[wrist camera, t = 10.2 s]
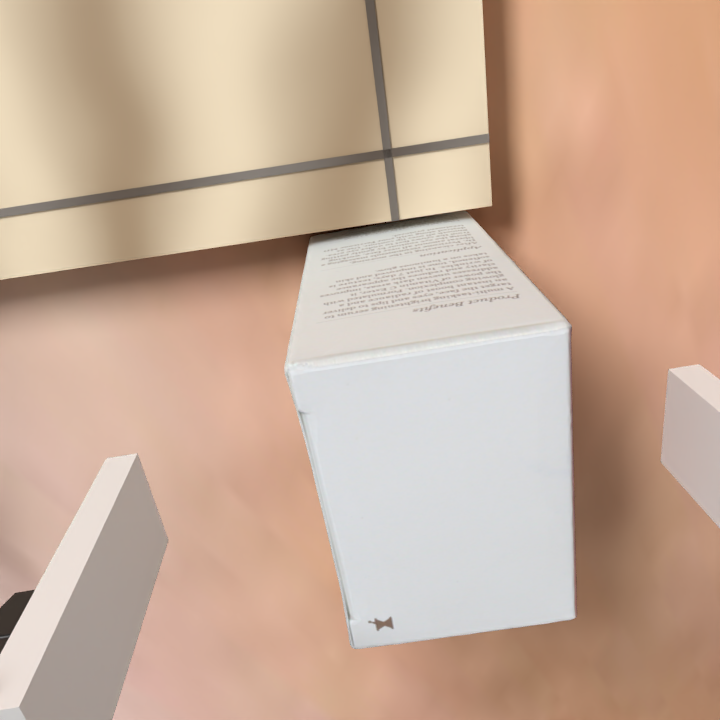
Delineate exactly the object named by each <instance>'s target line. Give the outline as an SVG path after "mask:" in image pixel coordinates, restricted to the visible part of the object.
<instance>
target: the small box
mask: <svg viewBox="0 0 720 720" xmlns="http://www.w3.org/2000/svg"><path fill="white" fill-rule="evenodd" d="M571 332H572V326H571V324H570V323H569V322H568V320H567V319H566V318H565V317H564V316H563V315H562V313H561V312H560V311H559V310H558V309H557V308H556V307H555V306H554V305H553V304H552V303H551V302H550V301H549V300H548V298H547V297H546V296H545V295H544V294H543V293H542V292H541V291H540V290H539V289H538V288H537V287H536V286H535V285H534V283H533V282H532V281H531V280H530V279H529V278H528V277H527V276H526V275H525V273H524V272H523V271H522V270H521V269H520V268H519V267H518V266H517V265H516V264H515V263H514V262H513V261H512V260H511V259H510V258H509V257H508V256H507V254H506V253H505V252H504V251H503V250H502V249H501V248H500V247H499V246H498V245H497V243H496V242H495V241H494V240H493V239H492V238H491V237H490V236H489V235H488V234H487V233H486V232H485V230H484V229H483V228H482V227H481V226H480V225H479V224H478V223H477V222H476V221H475V220H474V219H473V218H472V216H471V215H470V214H469V213H468V212H467V211H459V212H453V213H446V214H439V215H433V216H427V217H421V218H415V219H408V220H403V221H397V222H391V223H385V224H379V225H373V226H367V227H361V228H355V229H349V230H343V231H337V232H332V233H327V234H321V235H315V236H312V237H311V238H310V240H309V246H308V251H307V256H306V262H305V266H304V271H303V276H302V281H301V286H300V291H299V296H298V301H297V306H296V311H295V317H294V322H293V327H292V331H291V337H290V341H289V346H288V352H287V357H286V362H285V376H286V379H287V382H288V385H289V388H290V391H291V394H292V398H293V401H294V404H295V407H296V410H297V414H298V417H299V421H300V424H301V428H302V432H303V435H304V439H305V443H306V447H307V451H308V454H309V458H310V462H311V467H312V471H313V475H314V480H315V484H316V488H317V492H318V497H319V501H320V505H321V509H322V513H323V517H324V521H325V525H326V529H327V533H328V537H329V542H330V546H331V550H332V555H333V559H334V563H335V568H336V572H337V576H338V580H339V585H340V590H341V594H342V600H343V605H344V611H345V616H346V622H347V628H348V633H349V641H350V645H351V647H352V648H354V649H362V648H370V647H377V646H385V645H394V644H402V643H409V642H416V641H424V640H431V639H438V638H445V637H452V636H459V635H468V634H474V633H481V632H488V631H496V630H503V629H511V628H519V627H526V626H532V625H540V624H547V623H553V622H558V621H566V620H572V619H574V618H576V617H577V595H576V552H575V507H574V461H573V408H572V359H571Z"/></svg>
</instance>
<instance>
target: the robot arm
mask: <svg viewBox="0 0 720 720" xmlns="http://www.w3.org/2000/svg"><path fill="white" fill-rule="evenodd" d="M661 463H662V464H663V465H664V466H665V467H666V469H667V470H668V471H669V472H670V473H671V474H672V475H673V476H674V478H675V479H676V480H677V481H678V482H679V483H680V484H681V485H682V487H683V488H684V489H685V490H686V491H687V492H688V493H689V494H690V496H691V497H692V498H693V499H694V500H695V501H696V502H697V503H698V504H699V506H700V507H701V508H702V509H703V510H704V511H705V512H706V513H707V515H708V516H709V517H710V518H711V519H712V520H713V521H714V522H715V524H716V525H717V526H718V527H719V528H720V380H719V379H718V378H717V377H715V376H714V375H713V374H711V373H710V372H709V371H708V370H706V369H705V368H704V367H702V366H701V365H700V364H698V365H692V366H685V367H679V368H673V369H668V379H667V391H666V403H665V415H664V427H663V439H662V452H661ZM167 543H168V537H167V535H166V532H165V529H164V526H163V523H162V521H161V518H160V515H159V512H158V509H157V507H156V504H155V501H154V498H153V495H152V493H151V490H150V487H149V484H148V482H147V479H146V476H145V473H144V470H143V468H142V465H141V462H140V459H139V456H138V454H130V455H124V456H118V457H111V458H106V460H105V462H104V464H103V466H102V467H101V469H100V471H99V473H98V475H97V477H96V478H95V480H94V482H93V484H92V486H91V488H90V490H89V491H88V493H87V495H86V497H85V499H84V501H83V502H82V504H81V506H80V508H79V510H78V512H77V514H76V515H75V517H74V519H73V521H72V523H71V525H70V526H69V528H68V530H67V532H66V534H65V536H64V538H63V539H62V541H61V543H60V545H59V547H58V549H57V550H56V552H55V554H54V556H53V558H52V560H51V561H50V563H49V565H48V567H47V569H46V571H45V573H44V574H43V576H42V578H41V580H40V582H39V584H38V585H37V587H36V589H35V590H31V591H25V592H18V593H15V594H14V595H13V596H12V597H11V598H10V599H9V600H8V601H7V602H6V603H5V604H4V605H3V606H2V607H1V608H0V720H112V718H113V715H114V712H115V709H116V706H117V703H118V699H119V696H120V693H121V690H122V687H123V683H124V680H125V677H126V674H127V671H128V667H129V664H130V661H131V658H132V655H133V652H134V648H135V645H136V642H137V639H138V636H139V632H140V629H141V626H142V623H143V620H144V616H145V613H146V610H147V607H148V604H149V601H150V597H151V594H152V591H153V588H154V585H155V581H156V578H157V575H158V572H159V569H160V565H161V562H162V559H163V556H164V553H165V550H166V546H167Z"/></svg>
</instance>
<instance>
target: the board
mask: <svg viewBox="0 0 720 720" xmlns="http://www.w3.org/2000/svg"><path fill="white" fill-rule="evenodd" d="M488 206H492V193H491V173H490V152H489V131H488V111H487V90H486V69H485V49H484V28H483V7H482V0H0V280H3V279H9V278H16V277H23V276H29V275H36V274H43V273H49V272H56V271H63V270H69V269H76V268H83V267H89V266H96V265H102V264H109V263H116V262H122V261H129V260H136V259H142V258H149V257H156V256H162V255H169V254H176V253H182V252H189V251H196V250H202V249H209V248H215V247H222V246H229V245H235V244H242V243H249V242H255V241H262V240H269V239H275V238H282V237H289V236H295V235H302V234H309V233H315V232H322V231H329V230H335V229H342V228H348V227H355V226H362V225H368V224H375V223H382V222H388V221H398V220H402V219H408V218H415V217H422V216H428V215H435V214H442V213H448V212H455V211H461V210H468V209H475V208H481V207H488Z"/></svg>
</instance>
